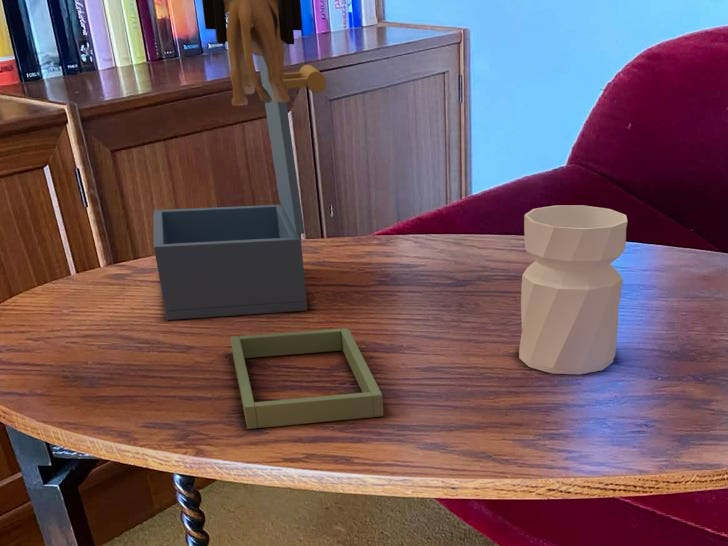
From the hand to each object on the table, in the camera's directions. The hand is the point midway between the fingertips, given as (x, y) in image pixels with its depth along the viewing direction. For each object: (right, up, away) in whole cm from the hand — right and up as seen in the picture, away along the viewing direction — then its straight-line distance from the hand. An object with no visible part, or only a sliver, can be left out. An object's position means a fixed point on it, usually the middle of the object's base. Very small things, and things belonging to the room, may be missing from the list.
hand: (254, 39), depth 69 cm
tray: (+1, -22, +12) cm, 25 cm away
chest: (-10, -7, +33) cm, 35 cm away
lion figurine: (-1, -2, +4) cm, 4 cm away
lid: (-4, +6, +26) cm, 27 cm away
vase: (+24, -18, +18) cm, 35 cm away
